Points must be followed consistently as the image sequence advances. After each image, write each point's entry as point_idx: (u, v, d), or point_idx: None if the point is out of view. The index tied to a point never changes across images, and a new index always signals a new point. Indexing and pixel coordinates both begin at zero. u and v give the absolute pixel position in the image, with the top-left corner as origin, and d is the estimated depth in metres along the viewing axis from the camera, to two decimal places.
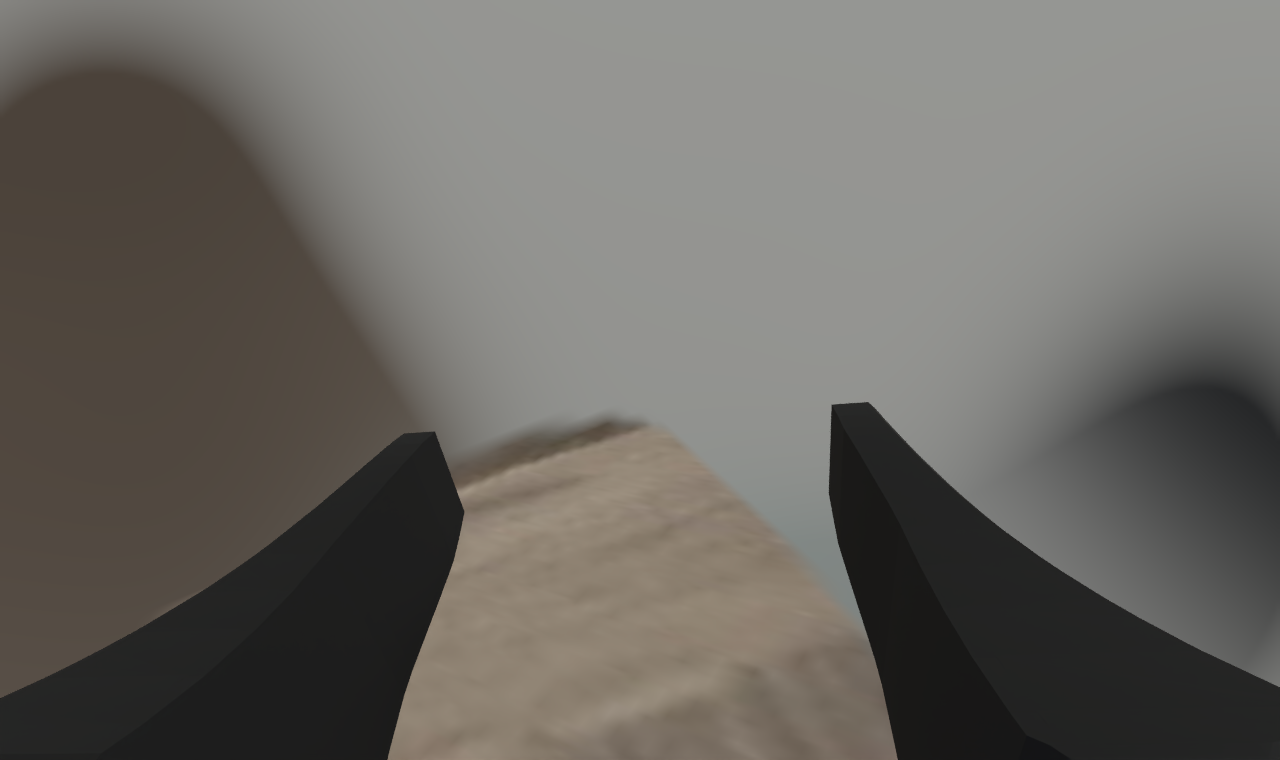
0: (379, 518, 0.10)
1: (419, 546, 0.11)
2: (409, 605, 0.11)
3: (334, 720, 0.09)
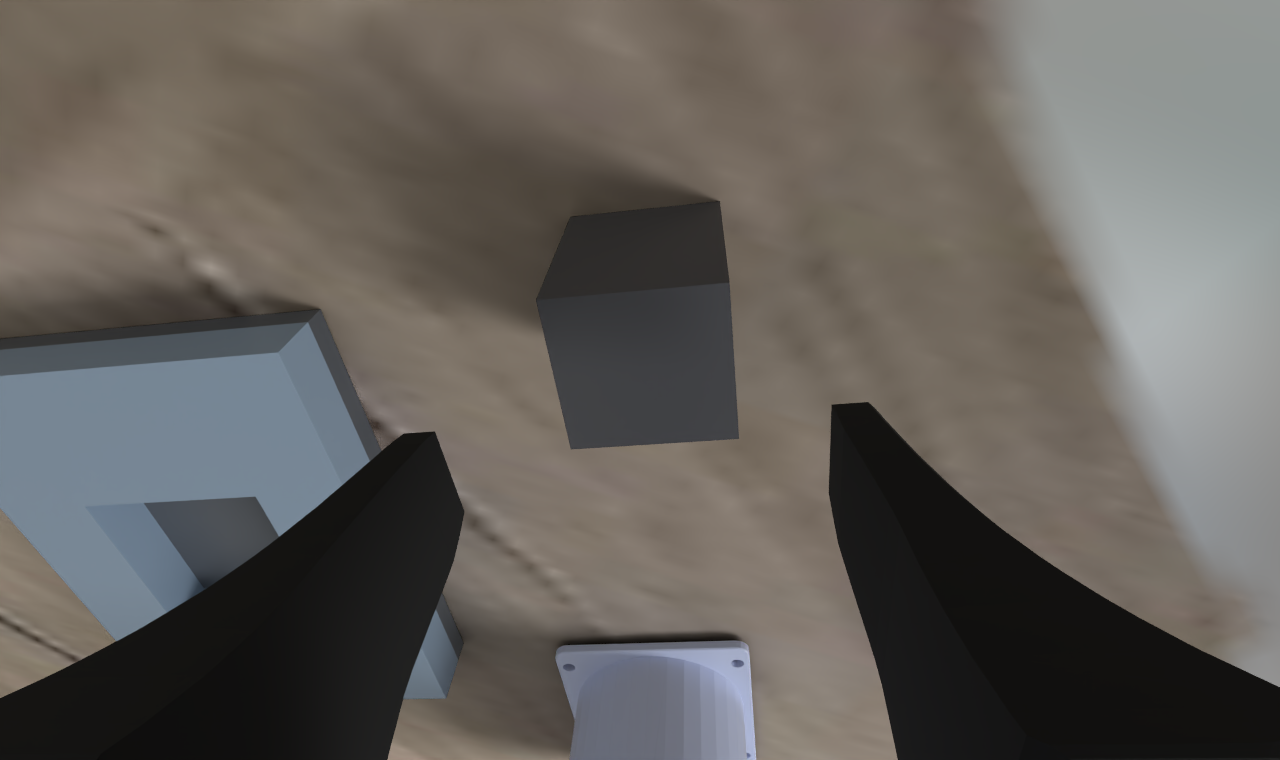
0: (379, 518, 0.10)
1: (419, 546, 0.11)
2: (409, 605, 0.11)
3: (334, 720, 0.09)
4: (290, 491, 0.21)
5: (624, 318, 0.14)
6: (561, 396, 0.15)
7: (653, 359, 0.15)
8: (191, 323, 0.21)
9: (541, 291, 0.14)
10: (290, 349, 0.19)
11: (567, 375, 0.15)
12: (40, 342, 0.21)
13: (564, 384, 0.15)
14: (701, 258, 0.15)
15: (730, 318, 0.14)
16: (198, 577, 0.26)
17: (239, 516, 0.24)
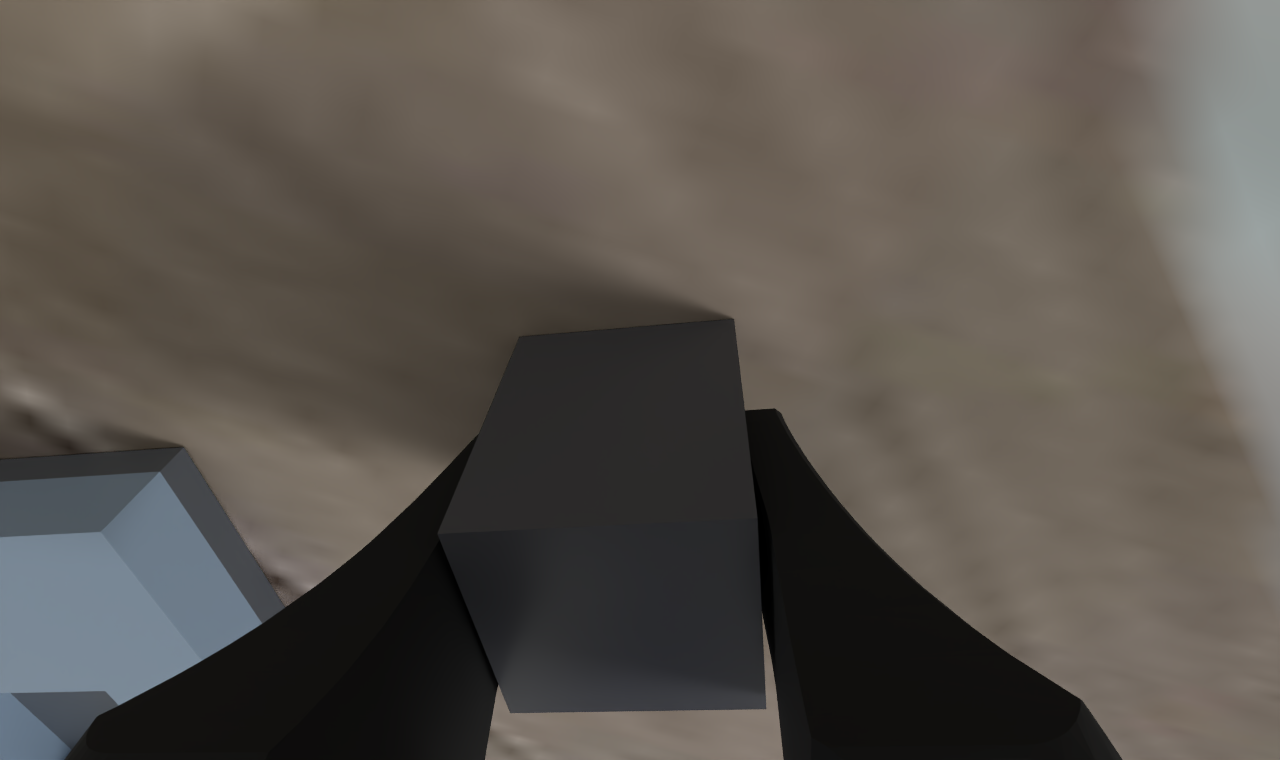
0: None
1: None
2: None
3: (444, 718, 0.09)
4: (150, 686, 0.15)
5: (583, 561, 0.09)
6: (490, 653, 0.10)
7: (632, 612, 0.09)
8: (10, 464, 0.15)
9: (450, 511, 0.09)
10: (125, 520, 0.13)
11: (497, 627, 0.10)
12: None
13: (493, 639, 0.10)
14: (709, 447, 0.09)
15: (758, 565, 0.09)
16: (69, 746, 0.21)
17: None
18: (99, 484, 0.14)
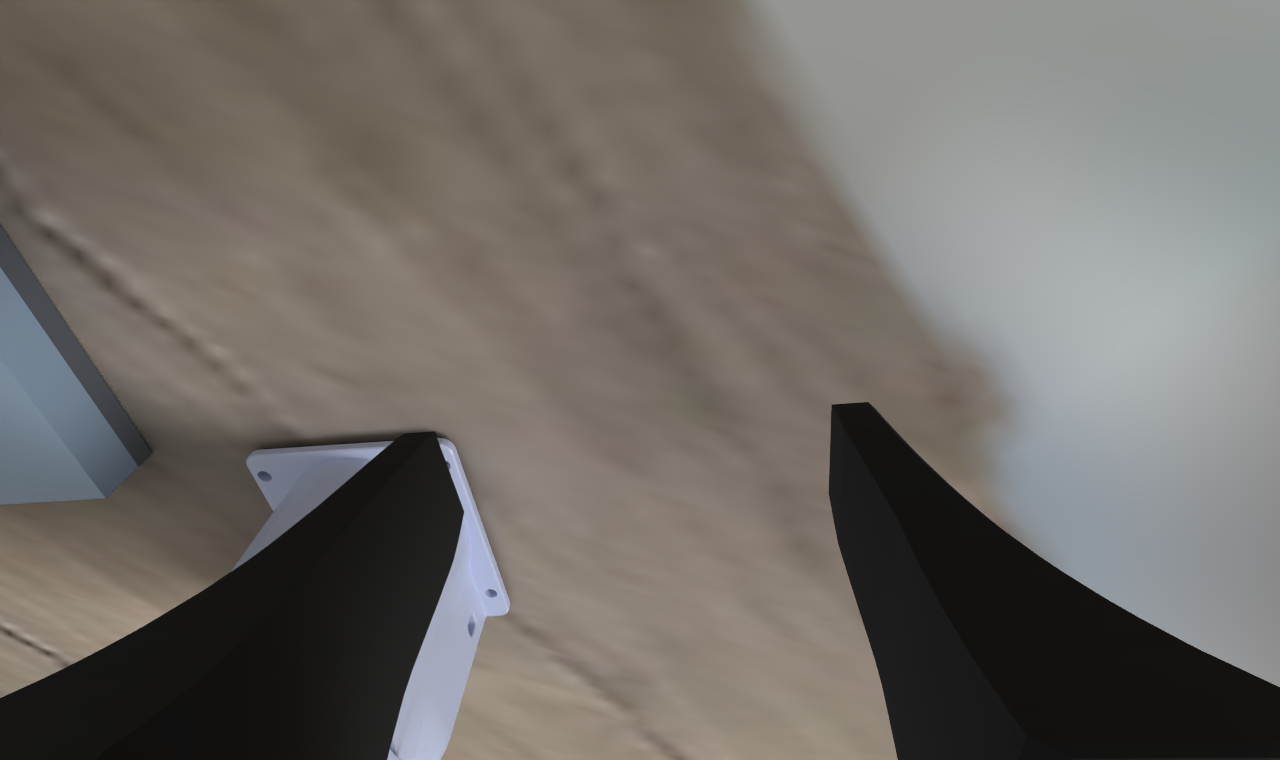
0: (379, 518, 0.10)
1: (419, 546, 0.11)
2: (409, 605, 0.11)
3: (334, 720, 0.09)
4: None
5: None
6: None
7: None
8: None
9: None
10: None
11: None
12: None
13: None
14: None
15: None
16: None
17: None
18: None
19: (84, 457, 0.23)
